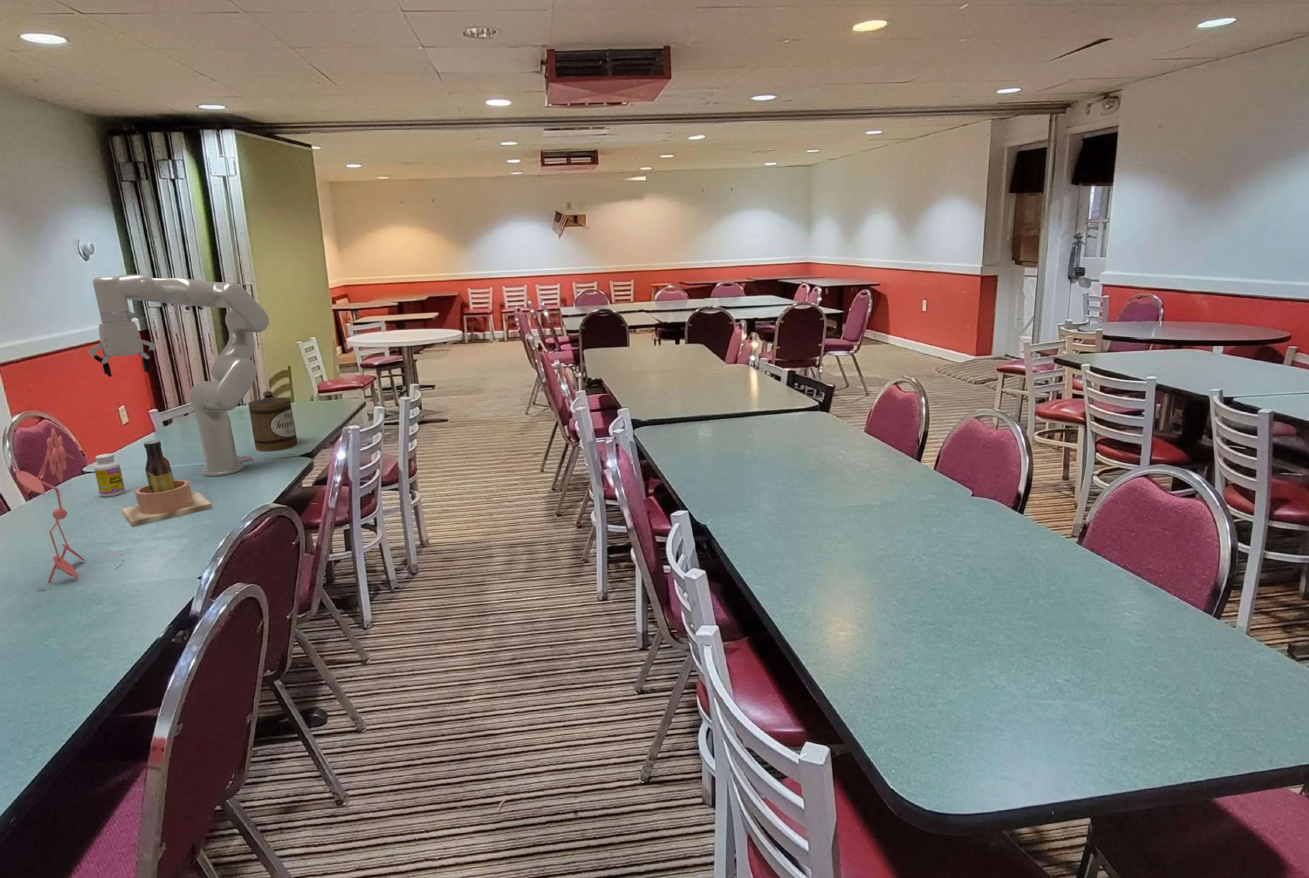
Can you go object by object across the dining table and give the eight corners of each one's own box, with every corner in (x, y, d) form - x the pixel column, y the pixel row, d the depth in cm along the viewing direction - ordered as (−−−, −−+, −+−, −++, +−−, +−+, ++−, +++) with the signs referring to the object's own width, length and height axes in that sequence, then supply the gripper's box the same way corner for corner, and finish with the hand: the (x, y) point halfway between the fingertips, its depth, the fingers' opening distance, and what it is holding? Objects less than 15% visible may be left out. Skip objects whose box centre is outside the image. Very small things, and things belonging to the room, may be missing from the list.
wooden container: (286, 450, 285) (276, 394, 279) (248, 452, 285) (237, 395, 280) (304, 440, 299) (295, 386, 294) (268, 442, 299) (258, 388, 294)
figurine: (34, 597, 167) (-2, 445, 158) (60, 557, 189) (29, 422, 181) (117, 582, 174) (86, 436, 165) (133, 546, 196) (106, 415, 187)
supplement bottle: (112, 497, 236) (103, 458, 233) (95, 497, 238) (85, 458, 234) (130, 490, 243) (122, 452, 239) (113, 490, 244) (104, 452, 241)
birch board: (199, 496, 234) (198, 492, 233) (212, 508, 222) (211, 503, 222) (122, 513, 221) (121, 508, 220) (132, 526, 209) (130, 521, 209)
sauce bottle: (157, 504, 223) (142, 440, 218) (181, 500, 225) (167, 437, 220) (151, 511, 217) (136, 445, 212) (176, 507, 219) (161, 442, 214)
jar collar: (186, 495, 230) (183, 477, 229) (197, 505, 221) (193, 486, 219) (136, 506, 222) (131, 487, 220) (144, 517, 212) (139, 497, 211)
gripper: (147, 315, 235) (158, 369, 239) (79, 320, 224) (92, 376, 228) (151, 316, 230) (163, 371, 234) (82, 321, 218) (96, 379, 223)
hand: (128, 374), depth 231 cm, fingers open, 9 cm apart
